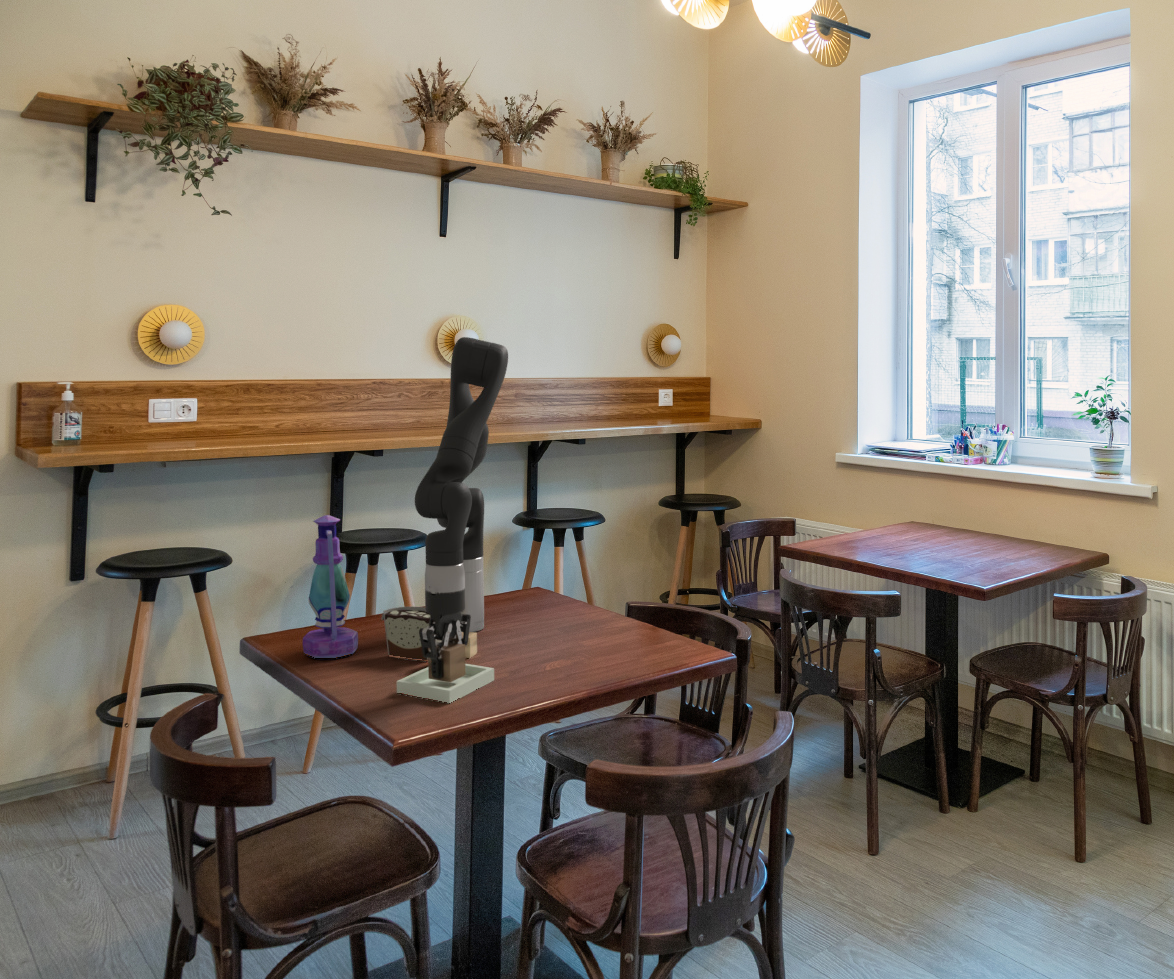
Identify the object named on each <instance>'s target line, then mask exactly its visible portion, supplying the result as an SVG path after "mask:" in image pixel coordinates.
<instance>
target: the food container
mask: <svg viewBox="0 0 1174 979" xmlns="http://www.w3.org/2000/svg"><path fill="white" fill-rule="evenodd" d="M380 620H381V621H384V623H383V624H384V630H385V640H386V646H387V654H388V655H393V656H400V657H406V658H412V659H422V660H428V658H425V657H423V652H422V647H421V641H420V636H419V630H420V628H424V629H425V628H426V627H428V626H429V621H430V614H429V613H428V612H427V611H426V610H425V606H424V607H423V606H398V607H392V608H388V609H384V610H383V612H382V614H381V619H380Z"/></svg>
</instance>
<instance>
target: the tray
mask: <svg viewBox="0 0 1174 979" xmlns="http://www.w3.org/2000/svg"><path fill="white" fill-rule="evenodd" d="M494 681H495V668H494V667H488V666H482V665H476V664H472V663H471V664H470V663H465V675H464V676H462V677H460V678H458V679H456V680H454V681H452V682H445V681H440V680H434V679H429V670H428V666H427V667H426V668H423V669H420V670H418V671H416V672H414V673H411V674H410V675H408V676H406V677H403V678H401V679H398V680H396V694H397V693H404V694H408V695H413V696H417V697H422V698H421V699H423V698H429V699H433V700H438V701H437V702H439V701H442V702H441V703H444V702H447V703H446V704H449V703H450V704H452V703H454V702H456V701H457V699H458V698H460V699H461V698H464V697H465V696H467V695H469V694H471V693H472V692H475V691H477V690H478V688H479V689H480V688H483V687H485V686H486V685H488V684H490V683H491V682H494ZM476 689H477V690H476ZM417 697H416V698H417ZM433 700H432V701H433ZM455 700H456V701H455ZM458 700H459V699H458ZM453 701H454V702H453ZM451 702H452V703H451Z"/></svg>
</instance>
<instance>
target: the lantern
mask: <svg viewBox="0 0 1174 979" xmlns="http://www.w3.org/2000/svg"><path fill="white" fill-rule="evenodd" d="M340 521H341V519H340V518H337V517H336V516H332V515H330V514H329V515H328V514H326V515H323V516H319V517H318V518H316V519H314V520H313V521H312V522H313V523H315V524H316V525H317V535H318V538H316V539H315V554H314V556H313V557H312V562H313V563H314V564H315V565H316V566H315V568H314V570H313V574H312V579H311V584H310V588H309V589H310V590H309V594H308V595H309V596H308V604H309V606H310V608H311V609H312V611H313V613H314V614H315V616H316V617H315V618H314V621H316V622H315V624H314V626H315V627H317V628H319V629H313V630H309V632H307V633H306V634H305V635H304V636H303V637H302V649H303V654H304V653H305V654H308V655H310V656H312V657H311V658H313V657H314V658H313V659H315V658H336V657H341V656H344V655H348V654H352V655H353V654H354V653H355V652H356V651H357V649H358V647H359V646H358V644H359V633H358V632H357V631H356V630H354V629H351V628H348V627H342V626H344V625H345V624H346V621H345V614H344V613H345V610H346V608H347V607H348V605H349V602H350V599H351V595H350V591H349V587H348V584H347V580H346V576H345V573H344V570H343V567H342V565H341V562H342V561H343V560H344V556H343V554H342V553H341V549H340V539H339V537H337V525H336V524H337V523H339V522H340ZM305 654H304V655H305ZM308 655H307V656H308ZM310 656H309V657H310ZM341 658H342V657H341ZM336 659H337V658H336Z"/></svg>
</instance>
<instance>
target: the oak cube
mask: <svg viewBox="0 0 1174 979" xmlns="http://www.w3.org/2000/svg"><path fill="white" fill-rule="evenodd" d="M461 633H462V638H463V634H464V633H463V632H461ZM477 653H478V633H477V632H469V637H468V644H467V645H465V659H467V658H469V660H470V658H471V657H472V658H473V657H474V656H475V655H477ZM472 658H471V659H472Z"/></svg>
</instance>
